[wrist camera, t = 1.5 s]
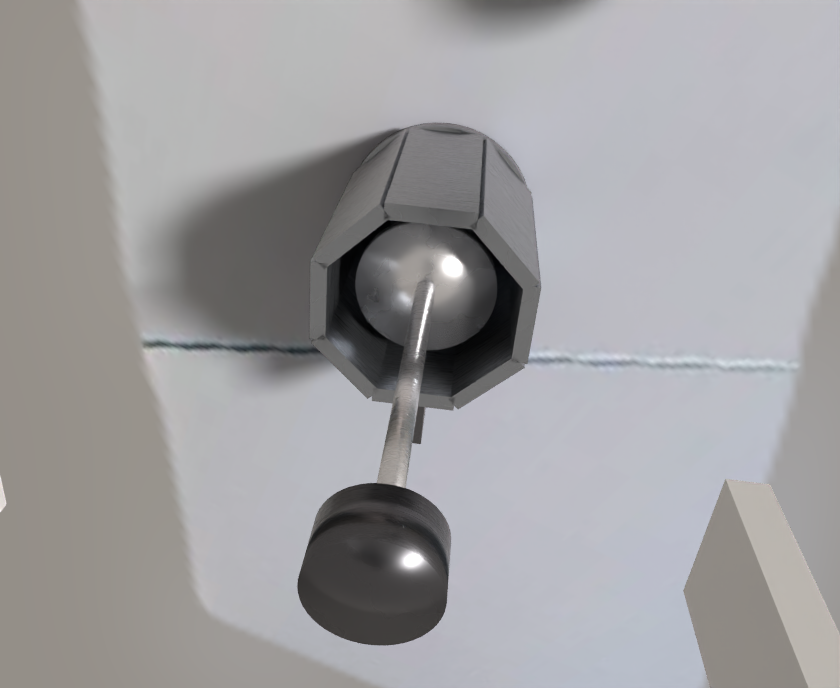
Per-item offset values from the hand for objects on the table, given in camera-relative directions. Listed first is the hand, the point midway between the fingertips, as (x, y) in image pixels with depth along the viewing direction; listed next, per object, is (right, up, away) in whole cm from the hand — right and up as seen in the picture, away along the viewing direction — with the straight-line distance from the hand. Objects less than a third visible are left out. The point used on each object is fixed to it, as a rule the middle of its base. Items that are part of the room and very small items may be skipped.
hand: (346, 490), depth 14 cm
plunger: (+2, +6, +27) cm, 27 cm away
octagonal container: (+2, +9, +36) cm, 37 cm away
